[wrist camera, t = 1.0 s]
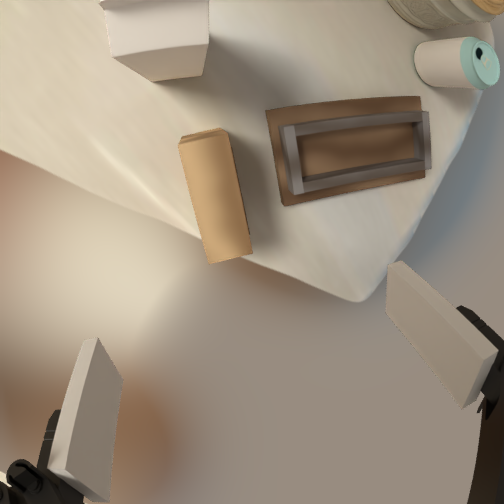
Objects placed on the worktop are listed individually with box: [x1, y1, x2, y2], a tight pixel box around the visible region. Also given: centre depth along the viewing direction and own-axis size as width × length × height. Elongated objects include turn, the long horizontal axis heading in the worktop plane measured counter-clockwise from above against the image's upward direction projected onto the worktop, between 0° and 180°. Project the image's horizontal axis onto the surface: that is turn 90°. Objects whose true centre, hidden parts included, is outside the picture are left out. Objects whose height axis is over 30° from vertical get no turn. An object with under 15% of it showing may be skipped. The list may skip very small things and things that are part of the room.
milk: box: [99, 0, 209, 82], centre depth 21 cm, size 6×6×22 cm
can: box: [414, 37, 500, 90], centre depth 30 cm, size 7×7×12 cm
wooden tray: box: [265, 96, 431, 206], centre depth 37 cm, size 12×22×4 cm, turn 101°
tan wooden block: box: [178, 128, 253, 264], centre depth 34 cm, size 5×12×10 cm, turn 11°
